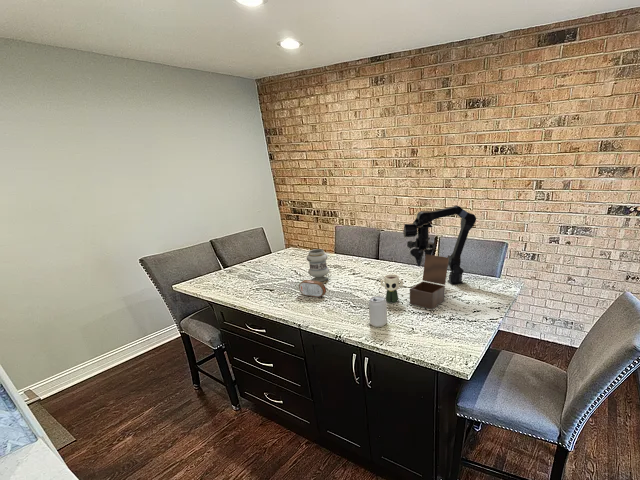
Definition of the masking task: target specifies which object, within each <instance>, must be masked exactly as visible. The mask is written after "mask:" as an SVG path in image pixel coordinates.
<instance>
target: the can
mask: <svg viewBox="0 0 640 480" xmlns="http://www.w3.org/2000/svg"><path fill="white" fill-rule="evenodd" d="M387 311H388V307H387V301H386V297H384V296H381V295H374V296H371V297H370V298H369V301H368V314H369V315H368V316H369V317H368V318H369V324H370V325H371V326H372V327H376V328H379V327H380V328H381V327H384V326H385V325H386V324H387V323H388V312H387Z"/></svg>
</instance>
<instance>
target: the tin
mask: <svg viewBox="0 0 640 480" xmlns="http://www.w3.org/2000/svg"><path fill="white" fill-rule="evenodd" d="M298 290H299V291H300V293H301V294H302V295H303V296H306V297H313V298H322V297H324V296H325V295H326V294H327V287H326V285H325V284H324V282H323V283H321V282H319V281H312V279H303V280H302V281H301V282H300V283H299V284H298Z"/></svg>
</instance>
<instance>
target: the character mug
mask: <svg viewBox="0 0 640 480" xmlns="http://www.w3.org/2000/svg"><path fill="white" fill-rule="evenodd" d="M403 285H404V282H403V279H400V277H399V275H398V274H395V273H394V274H393V273H392V274H391V273H390V274H389V273H388V274H386V275H384V278H383V279H380V286H381V287H384V289H385V290H386V294H385V300H386V303H391V302H392V303H396V302H398V301H399V295H398V289H399V288H400V287H403Z"/></svg>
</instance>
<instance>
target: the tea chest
mask: <svg viewBox="0 0 640 480" xmlns="http://www.w3.org/2000/svg"><path fill="white" fill-rule="evenodd" d="M445 292H446V285H442V284H437V283H432V282H427V281H421V282H419V283H418V284H415V285H414V286H412V287H411V288H409V304H410V305H414V306H417V307H422V308H427V309H430V310H433V309H435V308H436V307H437V306H439V305H440V304H442V303H443V302H444V301H445Z"/></svg>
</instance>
